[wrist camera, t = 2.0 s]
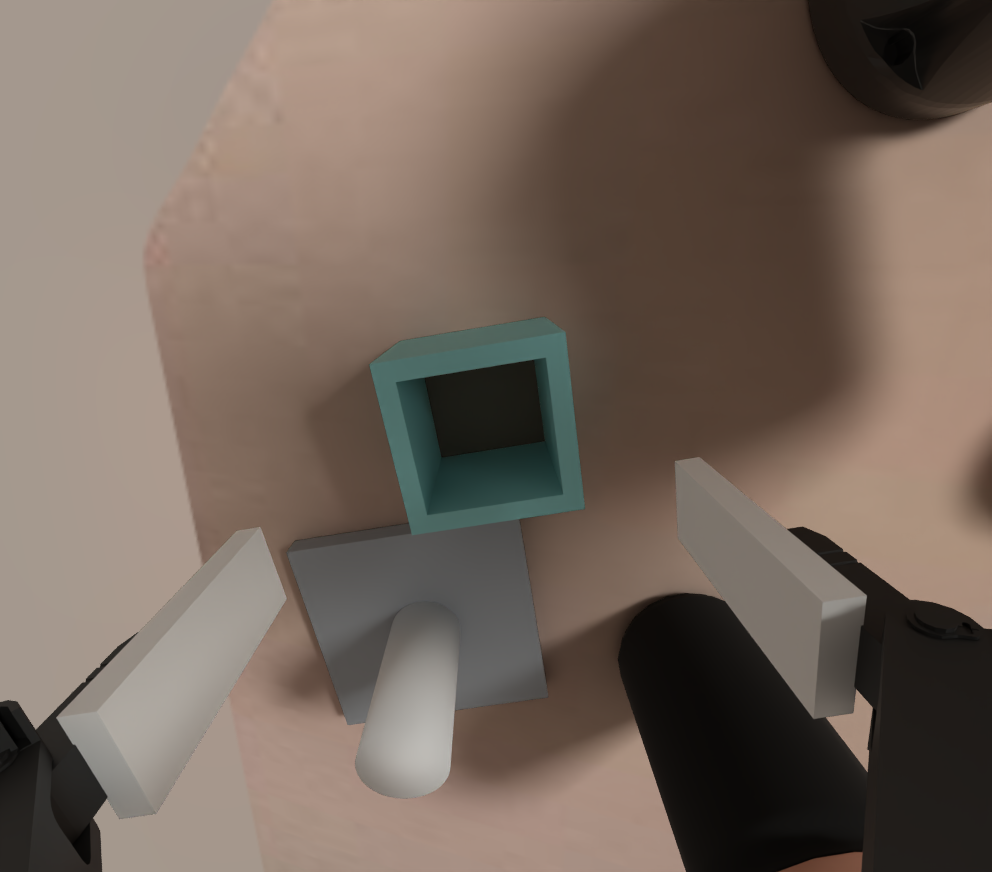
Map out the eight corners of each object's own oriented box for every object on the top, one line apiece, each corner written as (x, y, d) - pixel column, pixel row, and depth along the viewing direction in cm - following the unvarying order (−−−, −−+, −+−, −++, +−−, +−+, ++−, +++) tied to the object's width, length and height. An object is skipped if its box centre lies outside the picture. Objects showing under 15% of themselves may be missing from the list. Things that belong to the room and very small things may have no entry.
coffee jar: (595, 681, 38) (684, 1011, 21) (641, 573, 35) (789, 859, 18) (717, 704, 39) (894, 1036, 22) (772, 601, 36) (1031, 897, 19)
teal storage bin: (544, 316, 29) (565, 332, 21) (561, 452, 31) (585, 509, 24) (400, 340, 29) (369, 364, 21) (429, 473, 32) (412, 535, 24)
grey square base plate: (517, 506, 33) (532, 621, 22) (546, 681, 38) (570, 845, 27) (294, 540, 33) (201, 669, 22) (352, 708, 38) (300, 879, 28)
